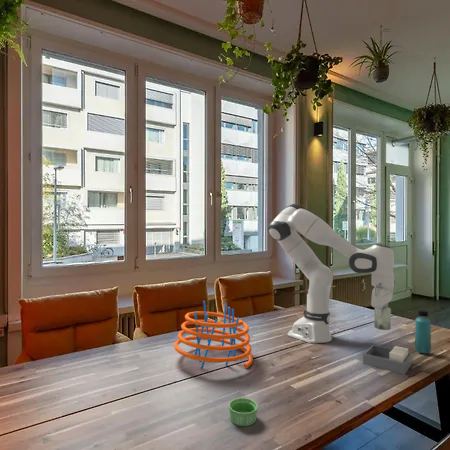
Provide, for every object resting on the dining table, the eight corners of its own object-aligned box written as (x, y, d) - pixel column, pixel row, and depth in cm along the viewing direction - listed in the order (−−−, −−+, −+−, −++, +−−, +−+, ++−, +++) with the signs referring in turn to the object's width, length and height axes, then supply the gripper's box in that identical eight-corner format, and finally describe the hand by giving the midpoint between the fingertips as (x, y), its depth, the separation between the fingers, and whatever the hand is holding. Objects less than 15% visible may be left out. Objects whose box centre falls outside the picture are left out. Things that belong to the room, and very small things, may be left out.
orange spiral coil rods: (204, 342, 177) (209, 295, 177) (265, 363, 157) (271, 310, 158) (155, 358, 148) (162, 302, 149) (223, 387, 129) (231, 322, 129)
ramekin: (232, 409, 114) (233, 395, 113) (260, 413, 111) (260, 400, 111) (225, 424, 105) (225, 410, 105) (254, 430, 102) (254, 415, 102)
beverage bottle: (433, 357, 157) (434, 313, 156) (417, 355, 158) (417, 312, 158) (427, 351, 163) (428, 309, 163) (412, 350, 165) (413, 308, 164)
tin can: (372, 327, 150) (372, 308, 150) (377, 324, 155) (377, 305, 154) (388, 330, 146) (388, 310, 145) (392, 327, 150) (392, 307, 150)
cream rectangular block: (389, 368, 143) (389, 352, 143) (395, 360, 151) (395, 345, 150) (402, 372, 140) (402, 356, 139) (408, 364, 147) (408, 348, 147)
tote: (362, 365, 147) (363, 353, 147) (372, 355, 158) (373, 344, 158) (404, 376, 137) (404, 364, 137) (412, 365, 148) (412, 353, 148)
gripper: (383, 286, 140) (383, 320, 140) (396, 279, 156) (395, 310, 156) (367, 284, 144) (367, 317, 144) (381, 278, 160) (380, 308, 160)
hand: (382, 313), depth 150 cm, fingers closed on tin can, 6 cm apart
